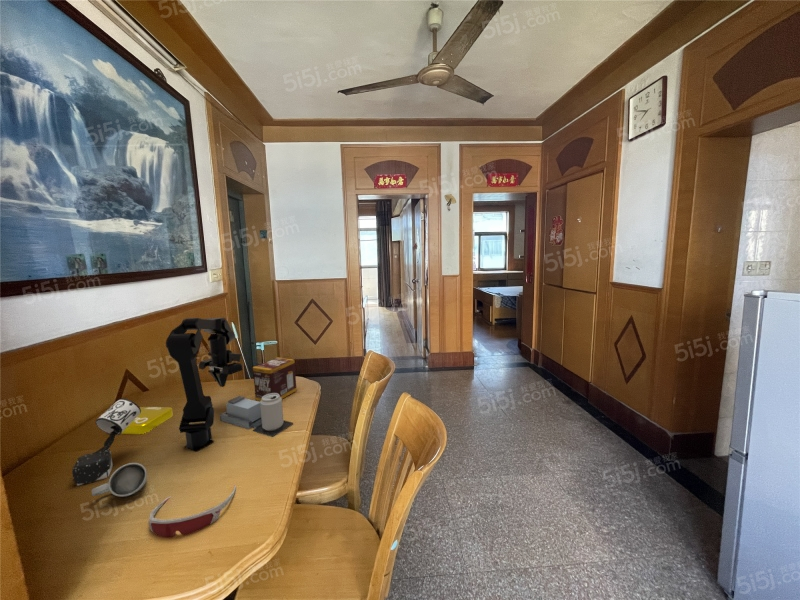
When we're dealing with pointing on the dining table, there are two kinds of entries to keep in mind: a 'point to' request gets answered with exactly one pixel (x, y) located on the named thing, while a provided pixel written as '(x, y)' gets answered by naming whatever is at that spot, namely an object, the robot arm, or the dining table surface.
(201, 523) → the sunglasses
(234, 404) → the grey stepped machine block
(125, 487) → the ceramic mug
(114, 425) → the table lamp
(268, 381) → the supplement box
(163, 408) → the element tile
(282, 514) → the dining table surface
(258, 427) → the base
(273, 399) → the can
